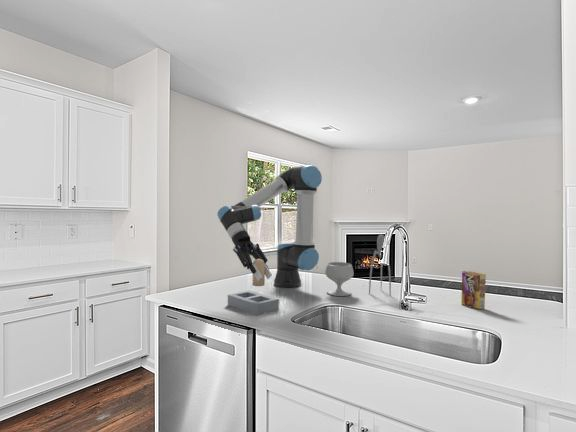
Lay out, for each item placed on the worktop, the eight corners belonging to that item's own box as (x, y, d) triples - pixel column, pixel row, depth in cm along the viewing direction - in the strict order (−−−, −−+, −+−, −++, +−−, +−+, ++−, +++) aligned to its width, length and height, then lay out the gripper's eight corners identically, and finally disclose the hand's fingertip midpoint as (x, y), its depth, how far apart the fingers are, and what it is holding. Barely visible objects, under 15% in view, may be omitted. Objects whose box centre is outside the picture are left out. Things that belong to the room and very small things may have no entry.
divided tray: (249, 300, 164) (249, 290, 164) (278, 309, 150) (278, 299, 150) (227, 305, 156) (227, 294, 156) (256, 315, 142) (256, 304, 141)
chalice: (322, 295, 174) (323, 265, 173) (327, 289, 187) (328, 261, 187) (351, 298, 170) (352, 267, 169) (354, 291, 183) (355, 262, 183)
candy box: (485, 308, 155) (486, 273, 154) (478, 309, 153) (479, 274, 152) (467, 303, 163) (468, 270, 162) (460, 304, 161) (461, 271, 160)
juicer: (384, 297, 172) (385, 235, 171) (368, 293, 179) (370, 234, 178) (396, 294, 179) (397, 234, 178) (380, 290, 186) (382, 233, 185)
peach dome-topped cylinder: (259, 283, 153) (259, 257, 152) (266, 285, 149) (267, 258, 149) (250, 284, 149) (250, 258, 149) (257, 286, 146) (258, 260, 145)
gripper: (249, 239, 165) (275, 280, 155) (218, 242, 152) (244, 286, 142) (257, 228, 162) (284, 269, 151) (226, 230, 148) (253, 275, 138)
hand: (265, 277), depth 147 cm, fingers closed on peach dome-topped cylinder, 5 cm apart
